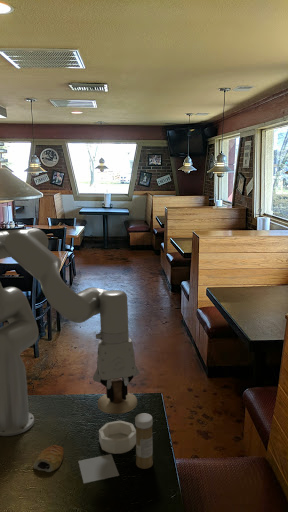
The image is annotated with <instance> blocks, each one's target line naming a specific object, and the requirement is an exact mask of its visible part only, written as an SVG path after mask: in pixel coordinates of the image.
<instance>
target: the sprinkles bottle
mask: <svg viewBox="0 0 288 512" xmlns="http://www.w3.org/2000/svg"><path fill="white" fill-rule="evenodd" d="M153 422H154V421H153V416H152V415H151V414H149V413H145V412H142V413H139V414H136V416H135V417H134V426H135V429H136V444H135V455H136V456H135V457H136V459H135V460H136V461H135V464H136V467H138V468H139V469H142V470H143V469H144V470H145V469H150V468H152V466H153V464H154V461H153V453H154V451H153V445H154V443H153Z"/></svg>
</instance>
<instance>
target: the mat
mask: <svg viewBox="0 0 288 512" xmlns="http://www.w3.org/2000/svg"><path fill="white" fill-rule="evenodd" d="M77 463H78V464H79V470H80V475H81V478H82V483H83V484H88V483H92V482H97V481H101V480H106V479H109V478H115V477H118V476H119V477H120V473H119V470H118V469H117V465H116V463H115V461H114V458H113V455H112V453H108V454H105V455H99V456H95V457H91V458H86V459H81V460H78V462H77Z"/></svg>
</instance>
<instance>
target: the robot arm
mask: <svg viewBox="0 0 288 512" xmlns="http://www.w3.org/2000/svg"><path fill="white" fill-rule="evenodd" d="M49 244H50V243H49V238H48V236H47V234H46V233H45V232H44V231H43V230H42V229H40V228H36V227H28V228H20V229H8V230H0V260H2V259H3V260H4V259H7V258H12V260H13V261H15V262H16V263H17V264H18V265H19V266H21V267H22V268H23V269H24V270H25V271H26V272H27V273H29V274H30V275H31V276H32V277H33V278H34V279H36V280H37V282H39V284H40V287H41V290H42V291H41V292H42V293H43V295H44V296H45V299H46V301H47V302H48V304H49V305H50V306H51V307H52V308H53V309H54V310H56V311H57V312H58V313H59V314H60V315H61V316H63V317H64V318H65V319H67V320H68V321H69V322H72V323H75V324H81V323H85V322H87V321H88V320H90V319H91V318H93V317H94V316H96V315H99V317H100V318H99V320H100V330H99V333H96V334H95V339H96V340H98V347H97V354H96V355H97V357H96V366H97V368H96V370H95V371H94V374H93V376H92V380H93V382H96V383H100V384H101V385H103V386H104V387H105V390H106V394H107V398H109V399H110V402H113V388H112V386H111V380H112V379H118V378H119V379H121V380H122V393H123V400H126V395H128V393H129V392H128V386H129V385H130V382H132V380H133V379H134V378H135V377H137V376H138V375H139V374H140V370H139V369H138V367H137V366H136V365H137V364H136V358H135V357H136V355H135V349H134V344H133V340H132V339H131V338H130V337H129V311H128V310H129V309H128V306H129V303H128V296H127V293H126V292H125V291H122V290H118V289H114V290H106V289H103V288H98V287H92V286H91V287H87V288H85V289H83V290H81V291H79V292H75V291H74V290H73V289H71V288H70V287H69V286H68V285H67V284H66V282H65V281H64V280H63V278H62V276H61V274H60V273H61V272H60V269H61V267H62V260H61V259H60V257H59V256H58V255H55V254H54V252H52V251H51V250H50V249H49V248H48V247H49ZM34 315H35V314H34V313H33V310H32V308H31V306H30V302H29V300H28V298H27V296H26V294H25V293H24V292H23V291H22V290H21V289H20V288H18V287H15V286H7V287H3V286H2V283H1V282H0V324H1V323H4V322H6V321H7V322H8V324H6V325H3V326H1V327H0V436H2V437H12V436H17V435H19V434H22V433H25V432H27V431H28V430H29V429H30V428H32V427H33V426H34V425H35V416H34V415H33V414H32V413H31V412H29V398H28V397H29V396H28V382H27V379H28V378H27V371H26V366H25V362H24V361H23V359H22V357H21V354H22V353H23V352H24V351H26V350H27V349H28V348H30V347H32V346H33V345H35V344H36V343H37V341H38V339H39V335H40V333H39V327H38V323H37V321H36V318H35V316H34Z"/></svg>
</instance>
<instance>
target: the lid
mask: <svg viewBox="0 0 288 512" xmlns="http://www.w3.org/2000/svg"><path fill="white" fill-rule="evenodd" d="M111 386H112V388H113V402H110V399H109V398H107V393H106V394H103V395H102V396H100V397H99V398H98V399H97V407H98V409H99V410H100V411H101V412H103V413H106V414H110V415H121V414H125V413H128V412H130V411H132V410H135V408H136V407H137V405H138V398H137V396H135V395H134V393H130V392H128V395H126V400H123V393H122V378H118V379H111Z"/></svg>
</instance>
